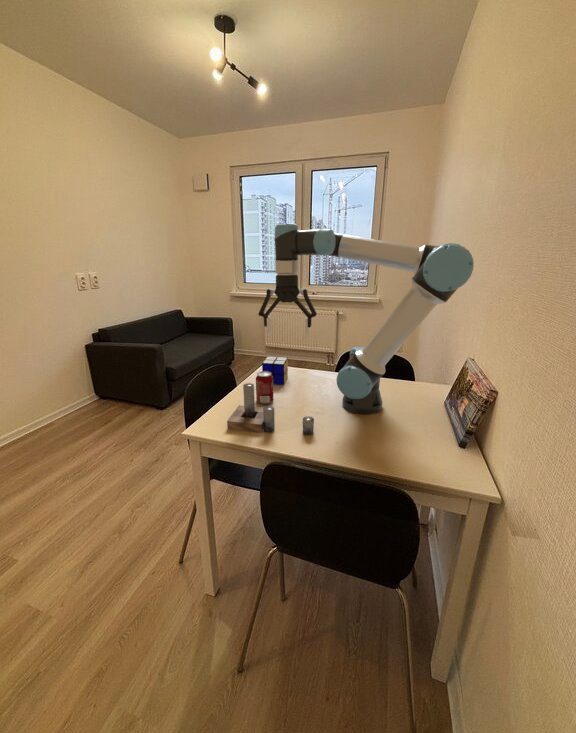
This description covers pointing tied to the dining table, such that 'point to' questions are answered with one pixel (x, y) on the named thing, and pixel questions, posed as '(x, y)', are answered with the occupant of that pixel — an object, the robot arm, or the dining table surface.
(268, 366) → the puzzle cube
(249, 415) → the long pin
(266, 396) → the soda can
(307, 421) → the short pin
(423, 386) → the dining table surface
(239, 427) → the hole block
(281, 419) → the dining table surface
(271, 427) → the medium pin
